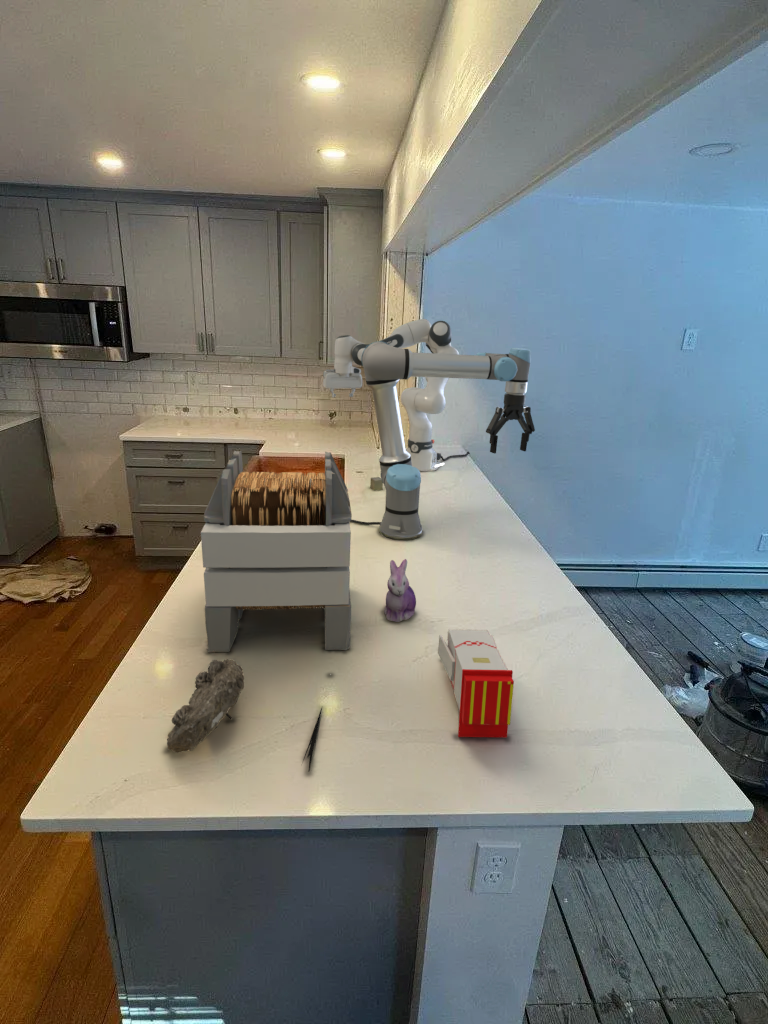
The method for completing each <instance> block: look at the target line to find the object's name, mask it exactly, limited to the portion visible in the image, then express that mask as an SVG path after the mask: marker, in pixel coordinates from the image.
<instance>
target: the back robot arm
mask: <svg viewBox="0 0 768 1024" xmlns="http://www.w3.org/2000/svg"><path fill="white" fill-rule="evenodd" d="M452 334H453V333H452V328H451V326H450V323H448V322H447V321H444V320H437V321H435V322H433V323H432V324H431V322H430V321H429V320H428V319H426V318H419V319H415V320H412V321H409V322H406V323H403V324H401V325H399V326H397V327H396V328H395V329H393V330H392V332H391V334H389V335H388V336H387V337H385V338H383V339H381V340H378V341H377V342H379V341H382V342H386V343H388V344H389V345H390V346H393V347H396V348H402V349H407V348H409V347H412V346H415V345H418V344H420V343H425V347H426V348H427V349H428V350H429V352H430V353H437V354H458V355H460V353H459V350H458V349H457V348H456V347H454V346H453V345H452V341H453V339H452V338H453V337H452ZM369 344H370V343H364V342H362V341H360V340H357V339H356V338H354V337H353V336H352V335H349V334H345V335H339V336H338V337H336V338H335V341H334V353H333V354H334V362H333V369H332V368H331V369H328V368H326V369H325V370H323V373H322V377H323V380H322V387H323V388H324V389H327V390H329V392H330V394H331V398H333V399H334V398H335V399H336V397H337V394H336V393H334V390H335V389H350V390H351V392H350V393H348V397H349V398H354V394H355V392H356V389H361V388H362V387H363V376H362V369H361V368H359V367H356V366H354V365H353V362H354V363H355V364H356V365H358V366H360V367H363V365H362V362H361V357H362V353H363V351H364V349H365V348H366V347H367V346H368V345H369ZM424 378H425V381H426V382H427V383H426V386H425V387H424V388H421V387H416V386H415V387H414V386H413V387H407V388H405V389H403V391H402V392H401V394H400V403H401V405H402V406H403V407H404V409H405V411H406V414H407V418H408V423H409V427H408V429H409V431H408V439H407V448H405V449H406V451H407V452H408V453H409V454H410V455H411V461H412V466H413V467H416V468H417V469H418V470H419V471H420V472H436V471H437V470H438V469H439V467H441V466H444V465H445V462H447V460H449V459H450V458H461V457H467V456H469V455H470V454H471V452H470V451H466V453H465V454H453V455H452V454H451V455H448V456H447V457H446V458H444V457H443V456H442V453H440V452H437V451H435V449H434V447H433V445H434V443H435V439H432V437H433V424H432V422H431V420H429V418H428V416H427V415H428V414H429V415H436V414H437V415H439V414H441V413H442V412H443V411H444V410H445V408H446V404H447V400H446V397H445V394H444V392H445V388H446V385H447V383H448V381H449V380H450V378H438V377H424ZM440 460H442V461H443V462H441V461H440Z"/></svg>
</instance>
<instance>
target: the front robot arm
mask: <svg viewBox="0 0 768 1024" xmlns="http://www.w3.org/2000/svg"><path fill="white" fill-rule="evenodd" d="M378 341H379V342H378ZM378 341H373V342H371V343H368V344H369V345H368V346H367V347H366V348H365V349H364V351H363V353H362V357H361V362H362V365H363V366H362V368H363V372H364V377H365V378H364V379H365V384H366V386H367V387H369V389H371V393H372V399H373V406H374V411H375V417H376V418H375V419H376V423H377V431H378V436H379V442H380V448H381V456H380V457H379V459H378V461H379V469H380V478H381V480H382V482H383V487H384V488H385V504H384V505H385V507H384V508H385V509H384V513H383V515H382V519H381V521H360V520H357V519H351V521H350V522H349V523H353V524H358V525H365V526H378V533H379V534H380V535H381V536H382V537H385V538H387V539H389V540H395V541H410V540H415V539H418V538H420V537H421V536H422V535H423V525H422V524H421V518H420V515H419V507H420V506H419V505H420V504H419V503H420V491H421V483H422V477H421V476H422V475H421V471H419V470H418V469H417V468H416V467H413V466H412V461H411V455H410V454H409V453H408V452H407V451H406V449H407V448H406V444H405V437H404V431H403V424H402V423H403V422H402V416H401V409H400V403H399V396H398V395H399V394H398V390H397V384H398V383H399V381H400V380H404V381H405V380H409V379H410V378H413V377H414V378H416V377H417V378H425V377H438V378H449V379H469V380H472V379H473V380H490V381H491V380H492V381H499V382H505V387H504V392H505V393H504V395H503V407H500V406H497V407H495V411H494V414H493V415H492V418H491V420H490V422H489V424H488V426H487V428H486V430H485V433H486V434H488V435H489V444H490V448H489V453H491V454H497V448H498V439H499V435H497V434H498V433H499V432H500V431H501V429H503V427H504V426H505V424H506V423H507V422H509V421H513V420H515V421H517V422H518V424H519V426H520V427H521V429H522V430H523V432H521V437H520V444H519V445H520V446H519V451H522V452H527V447H528V443H529V441H530V435H532V434H533V433H534V432H535V431H536V428H535V425H534V421H533V417H532V414H531V413H532V411H531V410H532V409H531V406H527V405H526V398H527V396H526V393H527V391H528V383H529V382H528V381H529V375H530V369H531V363H532V362H531V361H532V351H531V350H530V349H529V348H518V347H512V348H510V349H509V351H508V353H492V352H477V354H476V355H475V354H459V355H458V354H437V353H431V352H415V351H414V352H413V351H411V349H410V348H396V347H393V346H390V345H389V344H388V343H386V342H382V341H380V340H378Z"/></svg>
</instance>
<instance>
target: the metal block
mask: <svg viewBox="0 0 768 1024" xmlns="http://www.w3.org/2000/svg"><path fill="white" fill-rule="evenodd" d="M369 484H370V485H369V488H370V489H371V490H372V491H383V488H384V484H383V482H382V480H381V476H375V477H370V483H369Z"/></svg>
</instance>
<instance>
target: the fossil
mask: <svg viewBox="0 0 768 1024" xmlns="http://www.w3.org/2000/svg"><path fill="white" fill-rule="evenodd" d="M243 670H244V669H243V667H242V665H240V664H237V662H236V661H235V660H234V659H232V658H231V659H227V658H226V659H224V660H223V661H222V660H217V659H212V660H211V661H210V663H209V665H208V666H207V671H201V672H199V673H198V674H197V675H196V676H195V680H194V684H195V685H194V687H195V689H194V690H193V693H192V694H191V697H190V698H189V700H188V704H184V705H182V706H181V707H180V709H177V710H176V711H175V713H174V715H173V716H172V718H171V723H172V724H173V727H172V730H171V731H170V732H168V734H167V738H166V741H167V742H166V745H167V749H168V750H169V751H173V752H174V753H176V754H178V753H182V752H188V751H189V752H192V751H193V750H195V748H196V747H197V746H199V744H200V743H201V742H203V741H204V740H205V739H206V738H207V737H208V736H209V735H210V734H211V733H212V732H214V730H215V729H217V727H218V726H219V724H220V722H221V721H222V720H223V719H224V718H225V716H226V717H227V719H229V720H233V717H232V715H230V714H229V710H230V709H231V708H234V706H235V704H236V703H237V702H238V699H239V697H240V695H241V693H242V691H243V690H245V689H244V688H245V675H244V671H243Z"/></svg>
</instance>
